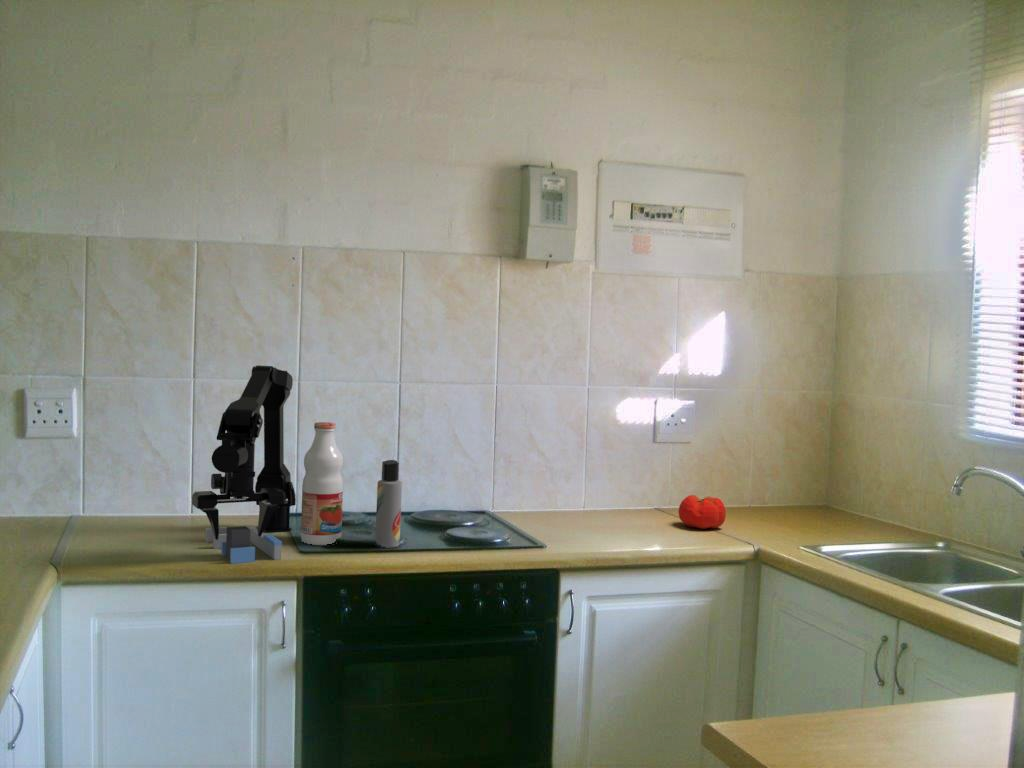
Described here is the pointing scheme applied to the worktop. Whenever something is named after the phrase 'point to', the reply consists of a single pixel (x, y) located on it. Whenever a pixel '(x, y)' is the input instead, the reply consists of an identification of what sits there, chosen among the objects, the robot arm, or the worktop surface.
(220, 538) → the grey and blue blocks
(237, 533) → the dark grey rectangular block
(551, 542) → the worktop surface
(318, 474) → the fruit juice
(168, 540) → the worktop surface
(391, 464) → the lotion bottle
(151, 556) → the worktop surface
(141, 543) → the worktop surface
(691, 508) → the tomato
